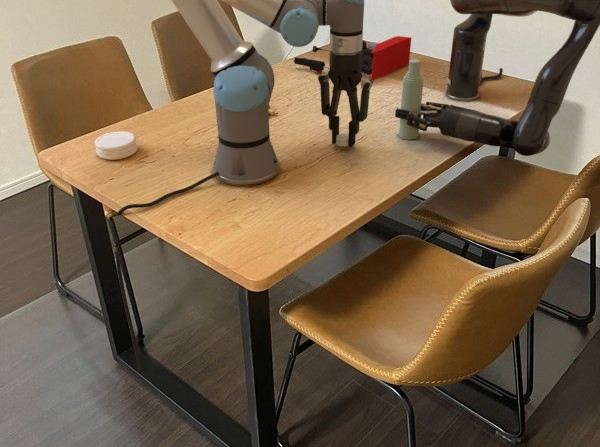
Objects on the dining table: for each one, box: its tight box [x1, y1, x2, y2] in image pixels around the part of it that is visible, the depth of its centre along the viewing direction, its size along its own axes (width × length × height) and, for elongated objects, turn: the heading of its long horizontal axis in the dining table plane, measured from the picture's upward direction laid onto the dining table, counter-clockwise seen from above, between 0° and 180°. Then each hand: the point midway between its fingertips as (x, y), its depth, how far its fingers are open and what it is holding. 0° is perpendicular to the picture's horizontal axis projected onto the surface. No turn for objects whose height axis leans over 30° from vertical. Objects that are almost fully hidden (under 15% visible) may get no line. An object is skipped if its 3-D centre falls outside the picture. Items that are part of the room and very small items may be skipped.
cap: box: [335, 133, 349, 147], centre depth 155 cm, size 4×4×2 cm
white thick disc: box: [94, 130, 139, 161], centre depth 154 cm, size 10×10×4 cm
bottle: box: [398, 58, 424, 140], centre depth 156 cm, size 5×5×20 cm
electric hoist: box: [293, 35, 412, 82], centre depth 207 cm, size 10×27×30 cm
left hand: (343, 143), depth 156 cm, fingers closed on cap, 4 cm apart
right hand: (401, 109), depth 159 cm, fingers closed on bottle, 5 cm apart
